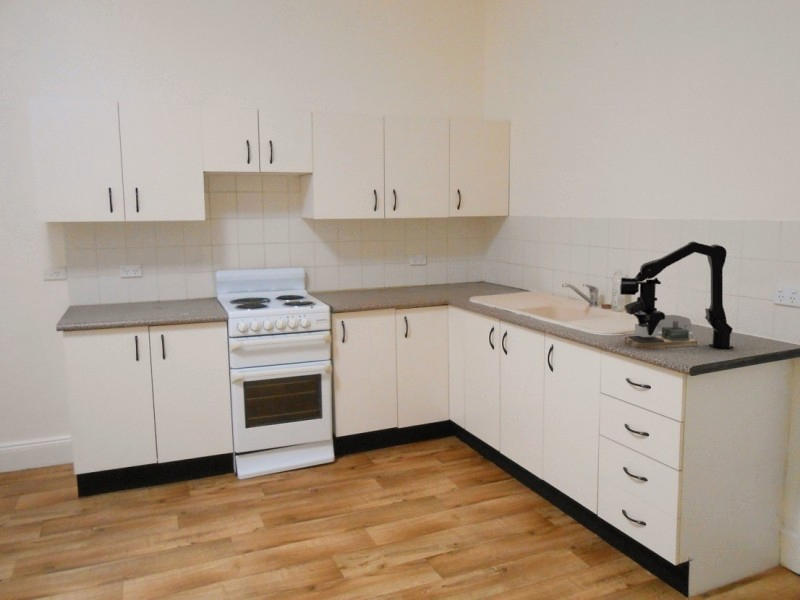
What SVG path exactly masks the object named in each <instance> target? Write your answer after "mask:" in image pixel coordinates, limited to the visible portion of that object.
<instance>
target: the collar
mask: <svg viewBox="0 0 800 600" xmlns="http://www.w3.org/2000/svg"><path fill="white" fill-rule="evenodd" d="M634 334H635V335H636V336H641V337H654V336H658V326H657V327H656V328H655V330H654V332H653V334H652V335H649V334H648V325H647V323H646V324H639V323H635V325H634Z"/></svg>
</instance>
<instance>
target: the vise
mask: <svg viewBox="0 0 800 600" xmlns="http://www.w3.org/2000/svg"><path fill="white" fill-rule="evenodd" d="M655 337H657V338H660V339H662V340H664V342H654V343H638V342H636V341H634V340H632V339H630V338H629V336H626V337H624V343H626V344H628V345H630V346H631V347H633V348H635V349H637V350H642V349H665V347H667V348H685V347H687V346H689V347H697V346H698V341H697V340H695V339H694V338H689V330H687V329H682V328H681V327H679V326H678V321H673V327H662V334H661V336H655Z"/></svg>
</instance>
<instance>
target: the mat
mask: <svg viewBox="0 0 800 600" xmlns="http://www.w3.org/2000/svg"><path fill="white" fill-rule="evenodd" d="M628 337H629V338H630V339H632V340H634V341H636V342H638V343H654V342H664V340H662V339H660V338H657V337H655V336H654V337H641V336H639V335H629V336H628Z"/></svg>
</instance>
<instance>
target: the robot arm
mask: <svg viewBox="0 0 800 600" xmlns="http://www.w3.org/2000/svg"><path fill="white" fill-rule="evenodd" d="M694 253H695V254H696V253H697V254H700V255H704V256H707V262H708V264H709V269H710V305H709V308H705V309H704V310H705V317H704V318H705V319H706V320H707V323H708V324H709V325H710V326H711V327H712V329H713V332H712V343H709V344H708V346H710V347H712V348H715V349H721V350H722V349H734V346H732V345H730V344H731V343H730V341H731V334H732V332H733V327H732V326H731V325H729V324H728V323H727V322H728V320H727V315H726V312H725V309H724V305H723V303H724V301H723V299H724V297H723V292H724V291H723V289H724V288H723V281H724V280H723V269H724V266H725V263H726V258H727V249H726V248H725V247H723V246H722V245H719V244H712V245H707V244H704V243H699V242H696V241H689V242H688V243H687V244H685V245H682V247H679V248H677V249H676V250H674V251H672V252H670V253H668V254H666V255H664V256H662V257H661V258H657V259H654V260H651V261H648V262H644V263H643V264H642V265H640V268H639V272H638V273H637V274H636V276H635V277H634V278H632V277H630V278H629V277H621V279H620V285H619V294H620V296H623V295H625V296H635V295H636V294H638V293H639V296H637V297H636V301H633V302H630V303H628V304H625V305H624V308H625V311H626V314H629V316H631V315H633V316H634V317H635V318H636V319H637V321H638V324H646V323H647V325H648V334H649V335H652V334H653V332H654V330H655V328H656V327H657V325H658V323H659V322H660V321H661V320H664V319H665V315H666V314H665V312H663V311H661V310H658V309H657V307H656V302H658V297H656V287H657V285H661V284H662V282H661V281H660V280H659V279H658V277H656V276H658V275H659V274H660V273H662V271H664V270H665V269H666V268H668V267H670V266H671V265H674V264H675V263H678V262H680V261H681V260H682V259H685V258H686V257H688V256H691V255H692V254H694Z"/></svg>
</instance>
